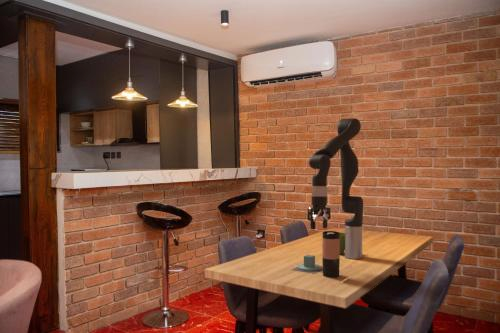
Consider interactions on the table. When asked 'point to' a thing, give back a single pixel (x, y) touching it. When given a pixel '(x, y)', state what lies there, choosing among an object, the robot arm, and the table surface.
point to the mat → (307, 271)
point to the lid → (309, 264)
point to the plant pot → (342, 242)
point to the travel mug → (331, 254)
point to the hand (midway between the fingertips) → (319, 228)
